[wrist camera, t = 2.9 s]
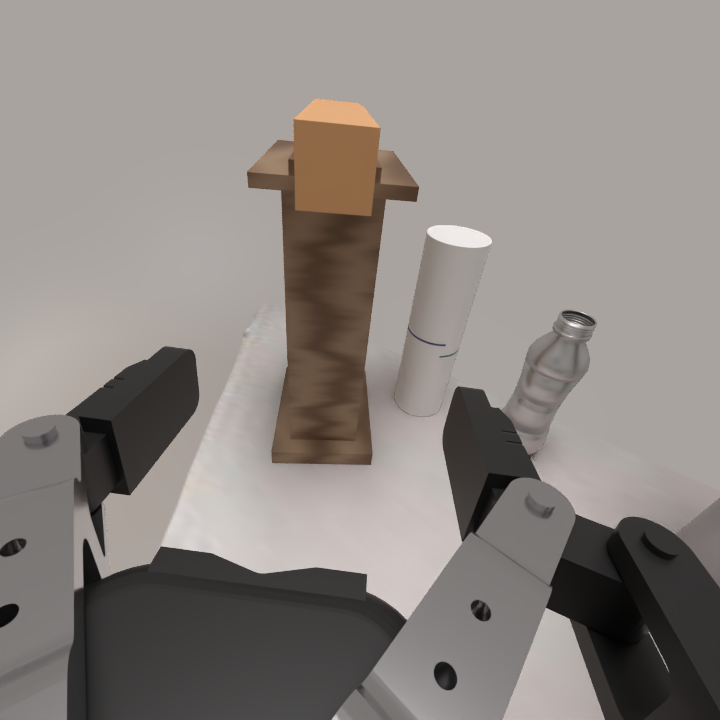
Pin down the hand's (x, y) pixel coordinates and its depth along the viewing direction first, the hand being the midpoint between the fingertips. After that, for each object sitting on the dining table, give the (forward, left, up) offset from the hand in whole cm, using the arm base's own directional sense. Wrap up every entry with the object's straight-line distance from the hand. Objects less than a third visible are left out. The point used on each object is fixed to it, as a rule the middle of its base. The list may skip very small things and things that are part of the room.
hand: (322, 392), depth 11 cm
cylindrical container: (-14, -32, -30) cm, 46 cm away
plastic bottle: (-26, -24, -30) cm, 46 cm away
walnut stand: (0, -28, -30) cm, 41 cm away
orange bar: (0, -22, +2) cm, 22 cm away
